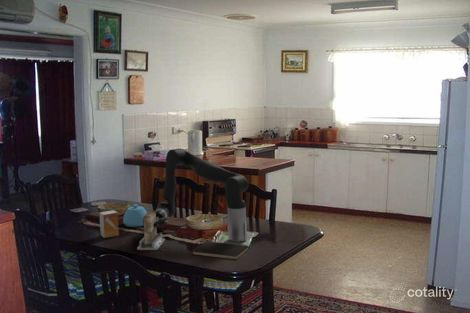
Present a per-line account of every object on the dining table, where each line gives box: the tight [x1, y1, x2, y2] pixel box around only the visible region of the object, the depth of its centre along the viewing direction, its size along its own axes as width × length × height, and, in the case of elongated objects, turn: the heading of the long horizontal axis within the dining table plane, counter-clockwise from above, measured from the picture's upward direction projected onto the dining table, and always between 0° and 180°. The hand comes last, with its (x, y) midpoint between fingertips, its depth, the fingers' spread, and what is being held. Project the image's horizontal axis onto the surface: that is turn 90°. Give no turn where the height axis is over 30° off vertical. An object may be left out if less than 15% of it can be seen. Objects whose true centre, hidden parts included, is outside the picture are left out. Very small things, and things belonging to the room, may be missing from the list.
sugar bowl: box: [122, 204, 147, 228], centre depth 307 cm, size 15×15×12 cm
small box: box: [98, 210, 120, 239], centre depth 286 cm, size 8×6×13 cm
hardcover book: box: [192, 240, 250, 260], centre depth 256 cm, size 16×23×2 cm
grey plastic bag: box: [136, 232, 166, 251], centre depth 269 cm, size 10×16×4 cm, turn 174°
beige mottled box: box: [143, 210, 158, 244], centre depth 268 cm, size 4×10×14 cm, turn 174°
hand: (150, 225), depth 268 cm, fingers closed on beige mottled box, 3 cm apart
